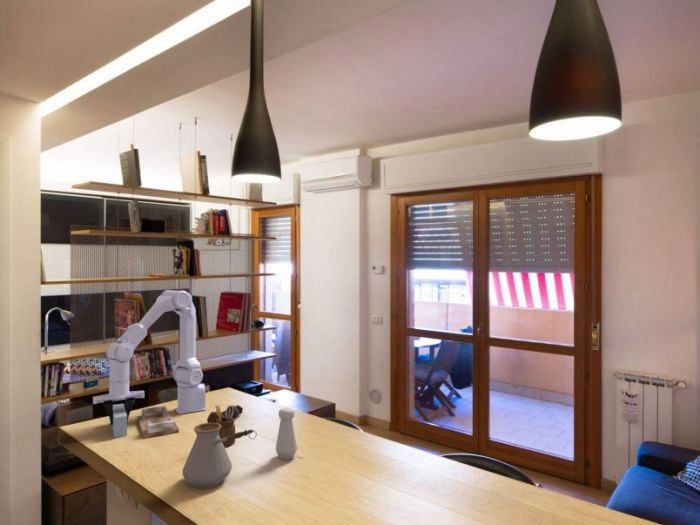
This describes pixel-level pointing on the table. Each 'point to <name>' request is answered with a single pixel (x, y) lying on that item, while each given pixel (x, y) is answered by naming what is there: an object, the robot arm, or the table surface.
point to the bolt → (214, 416)
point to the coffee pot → (209, 456)
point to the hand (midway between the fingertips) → (119, 423)
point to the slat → (119, 421)
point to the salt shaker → (286, 435)
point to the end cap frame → (156, 422)
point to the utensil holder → (226, 426)
